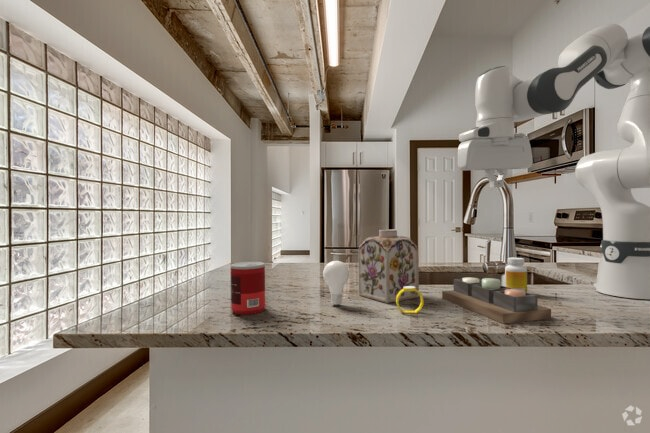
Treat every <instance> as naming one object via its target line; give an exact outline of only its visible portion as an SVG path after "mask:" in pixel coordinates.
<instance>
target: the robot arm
mask: <svg viewBox="0 0 650 433" xmlns="http://www.w3.org/2000/svg"><path fill="white" fill-rule="evenodd" d="M593 78H594V81H595V83H596V84H597V85H599V87H602V88H603V89H607V90H612V89H613V90H614V89H618V88H621V87H623V86H625V85H626V84H628V83H630V84H629V85H630V90H629V93H628V95H627V98H626V100H625V102H624V104H623V107H622V110H621V114H620V117H619V120H618V122H617V125H616V128H617V129H616V132H617V134H618V136H619V137H620V138H621V139H623V140H624V141H625V142H627V143H630V144H631V145H630V146H628V147H623V148H616V149H615V148H614V149H607V150H600V151H596V152H593V153H590V154H587V155H585V156H582V157H581V158H580V159H579V160H578V161H577V163H576V165H575V168H574V169H575V170H574V175H575V178H576V180H577V182H578V184H580V186H581V187H582V188H585V190H587V191H588V192H589V193H591V195H592V196H593V197H594V199H595V200H596V202H597V203H598V206H599V208H600V212H601V217H602V240H601V243H600V252H601V253H602V256H601V258H600V259H599V261H598V266H597V267H598V268H597V276H596V282H594V283H593V288H595V291H596V292H598V293H602V294H604V295H609V296H615V297H620V298H627V299H638V300H650V206H649V205H647V204H644V203H642V202H639V201H637V199H635V198H634V196H633V194H632V189H650V26H648V27H646V29H644V30H642V31H640V32H638V33H636V34H635V35H633V36H631V37H629V36H628V33H627V31H626V29H625V28H624V27H622V26H621V25H619V24H617V23H607V24H606V23H605V24H603V25H600V26H597V27H595V28H594V29H591V30H590V31H587V32H585V33H584V34H582V35H581V36H579V37H577V38H576V39H574V41H572V42H570V44H568V45H567V46H566V47H565V48H564V49H563V50H562V51H561V53H560V54H559V56H558V60H557V67H553V68H552V67H551V68H549V69H547V70H546V71H543V72H541V73H539V74H538V75H535V76H533V77H530V78H528V79H525V80H522V79H519V78H518V77H516V76H515V75H514V74H513V73H512V72H511V69H510V67H509V66H506V65H502V66H501V65H500V66H496V67H493V68H490V69H488V70H485V71H484V72H482V73H481V74H480V75H479V76H477V79H476V83H475V88H474V89H475V91H474V93H475V94H474V96H475V97H474V104H475V107H474V108H475V109H476V114H477V115H476V120H475V127H473V128H471V129H470V130H467V131H464V132H462V133H460V134H458V141H459V142H460V144H459V145H458V148H457V167H458V169H459V170H460V171H484V175H485V177H486V179H487V180H488V185H489V188H503V187H504V186H505V185H504V184H505V182H504V181H505V179H506V177H507V175H508V170H523V169H524V170H525V169H526V170H527V169H530V168H531V167H532V166H533V164H534V162H533V152H532V151H533V150H532V147H531V143H530V139H529V138H530V137H528V136H527V135H526V134H525V133H522V132H520V133H517V132H515V123H518V122H519V123H520V122H524V121H528V120H532V119H535V118H539V117H542V116H544V115H549V114H550V115H551V114H555V113H560V112H562V111H564V110H565V111H566V109H568V108H569V106H571V104H572V102H573V101H574V99H575V97H576V95H577V94H578V92H579V91H580V89H582V87H584V86H585V85H586V84H587V83H588V82H589V81H590V80H592V79H593ZM495 174H496V175H498V176H497V178H496V177H495Z"/></svg>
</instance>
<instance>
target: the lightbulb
mask: <svg viewBox="0 0 650 433" xmlns="http://www.w3.org/2000/svg"><path fill="white" fill-rule="evenodd" d="M322 276H323V280H324V281H325V283H326V285H327V286H328V291H329V293H330V303H331V304H332V305H334V306H335V307H337V306H339V305H341V304H343V301H342V300H343V299H342V297H343V291H344V288H345V285H346V284H347V283H348V280H349V278H350V270H349V267H348V266H347V265H346V263H345V262H343V261H340V260H332V261H329V262H328V263H326V264H325V266H324V268H323V271H322Z"/></svg>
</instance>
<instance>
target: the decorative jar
mask: <svg viewBox="0 0 650 433" xmlns="http://www.w3.org/2000/svg"><path fill="white" fill-rule="evenodd" d="M378 233H379V234H378V235H373V236H369V237H367V238H365V239H364V240H362V243H361V244H360V245H359V246H358V249H357V250H358V260H357V261H358V262H357V264H358V265H357V266H358V267H357V268H358V269H357V270H358V273H357V274H358V296H360V297H364V298H367V299H371V300H375V301H378V302H381V303H385V304H391V303H396V297H397V294H398V293H399V291H400V290H402V289H403V287H404V286H414V287H416V290H418V291H419V292H420V289H419V287H420V283H419V280H420V279H419V276H420V274H419V273H420V272H419V247H418V246H417V245H416V243H415V242H414V241H413V240H412V239H411V238H410V237H408V236H403V235H398V230H397V229H395V228H394V229H393V228H392V229H379V231H378ZM419 296H420V295H419V294H418V293H417V292H416V291H405V292H403V293H402V294H401V296H400V297H399V302H400V301H406V300H411V299H415V298H418V297H419Z"/></svg>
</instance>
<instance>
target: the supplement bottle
mask: <svg viewBox="0 0 650 433" xmlns="http://www.w3.org/2000/svg"><path fill="white" fill-rule="evenodd" d="M507 264H508V265H506V266H505V267H504V286H505V287H508V288H511V289H517V290H523V291H525V292H527V293H528V268H527V267H526V266H525V258H524V257H523V258H522V257H516V256H515V257H513V256H512V257H508V258H507Z"/></svg>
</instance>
